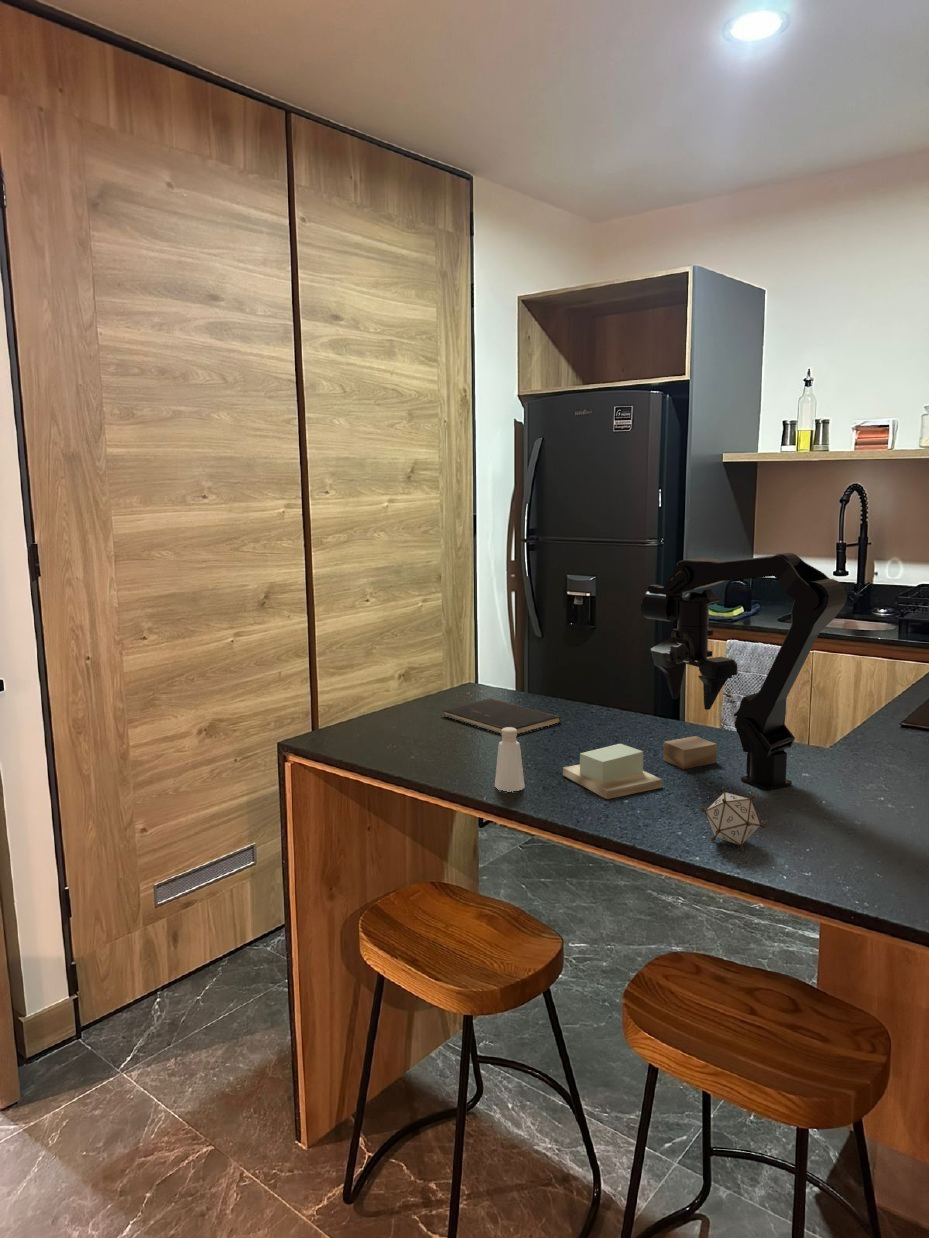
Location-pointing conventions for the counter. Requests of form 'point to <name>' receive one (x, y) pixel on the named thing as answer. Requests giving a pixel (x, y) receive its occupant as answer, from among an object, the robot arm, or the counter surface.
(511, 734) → the salt shaker
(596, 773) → the green block
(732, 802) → the game die
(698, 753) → the walnut block
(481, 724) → the hardcover book
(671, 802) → the counter surface
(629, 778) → the birch board
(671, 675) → the robot arm
